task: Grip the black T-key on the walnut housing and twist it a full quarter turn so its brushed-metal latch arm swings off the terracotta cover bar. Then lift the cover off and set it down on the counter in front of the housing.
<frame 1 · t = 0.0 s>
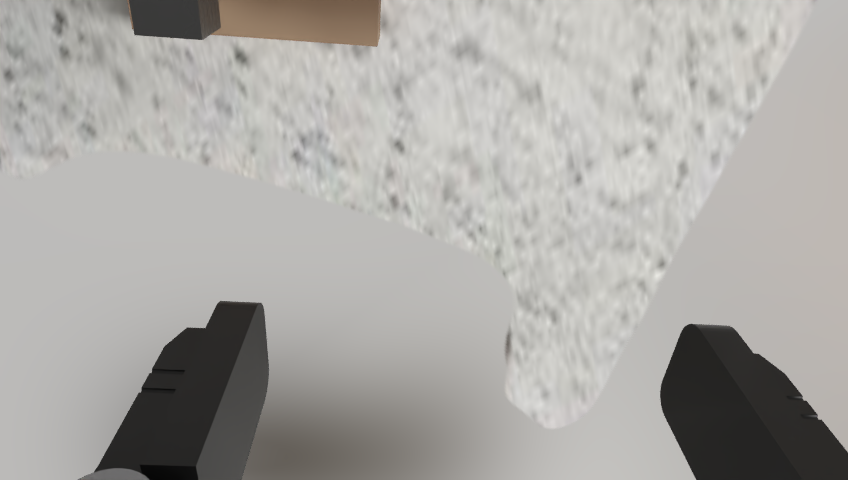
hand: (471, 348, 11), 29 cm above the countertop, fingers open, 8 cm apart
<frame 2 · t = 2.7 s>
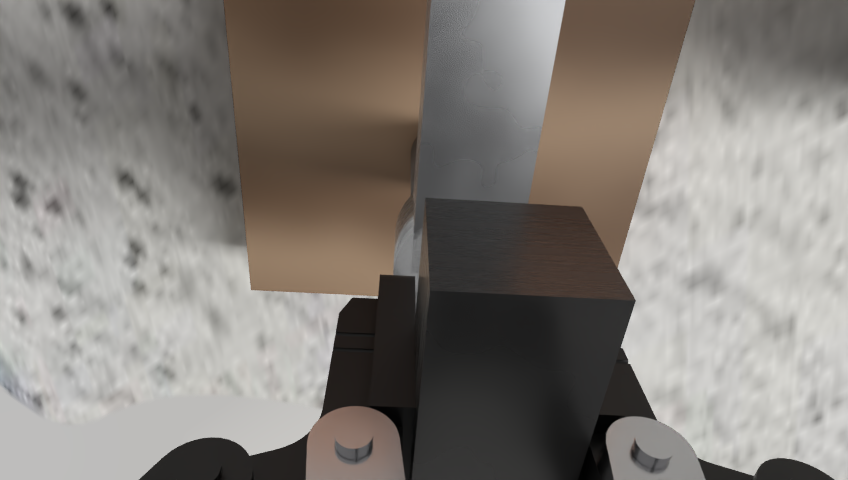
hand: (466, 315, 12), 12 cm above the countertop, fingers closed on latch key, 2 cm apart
latch key: (490, 179, 10), point 12 cm above the countertop, hinge at 0.0°, touching gripper
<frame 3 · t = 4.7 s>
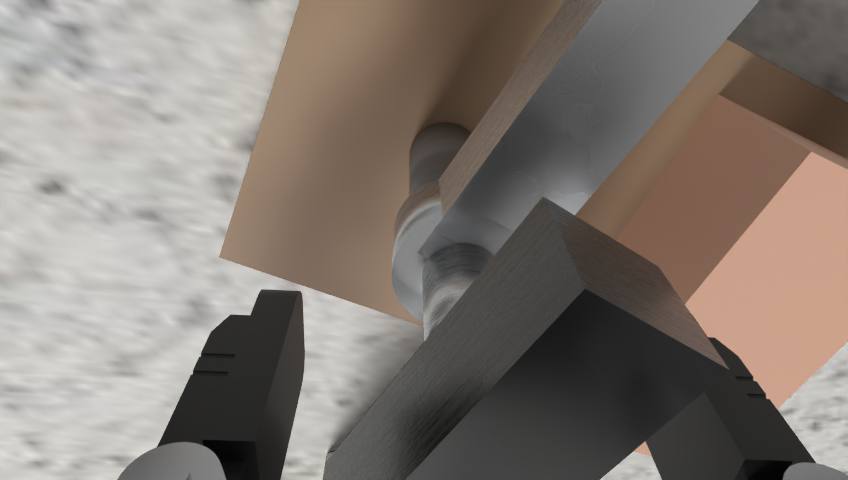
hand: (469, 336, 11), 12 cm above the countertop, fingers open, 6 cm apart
cover: (683, 254, 22), point 3 cm above the countertop, touching housing
latch key: (571, 204, 10), point 12 cm above the countertop, hinge at 81.5°
housing: (552, 174, 23), on the countertop
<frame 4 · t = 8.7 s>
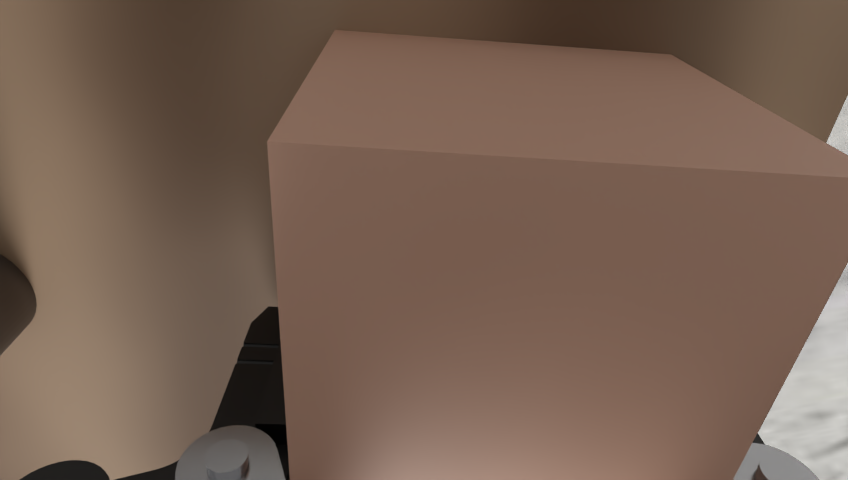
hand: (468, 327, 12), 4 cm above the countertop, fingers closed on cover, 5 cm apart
cover: (467, 313, 12), point 3 cm above the countertop, touching gripper, housing
housing: (259, 230, 14), on the countertop
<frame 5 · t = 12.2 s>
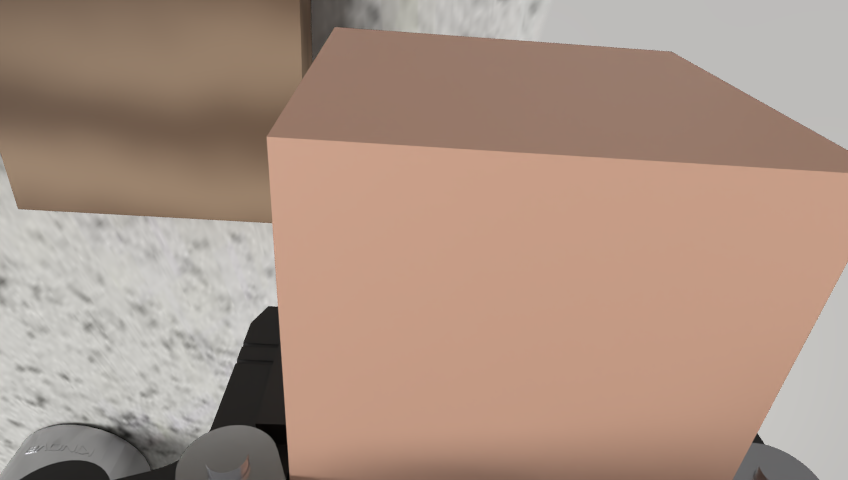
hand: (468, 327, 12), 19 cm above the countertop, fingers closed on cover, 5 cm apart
cover: (467, 311, 12), point 19 cm above the countertop, touching gripper
when the fingers open (2 cm above the countertop, at t = 15.8 s): cover drops 2 cm, on the countertop.
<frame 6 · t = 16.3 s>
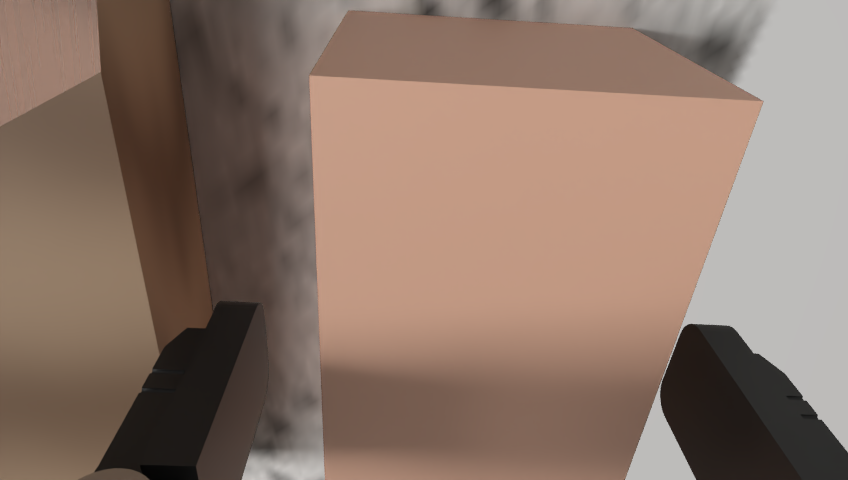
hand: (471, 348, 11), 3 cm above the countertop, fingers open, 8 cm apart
cover: (463, 256, 14), on the countertop
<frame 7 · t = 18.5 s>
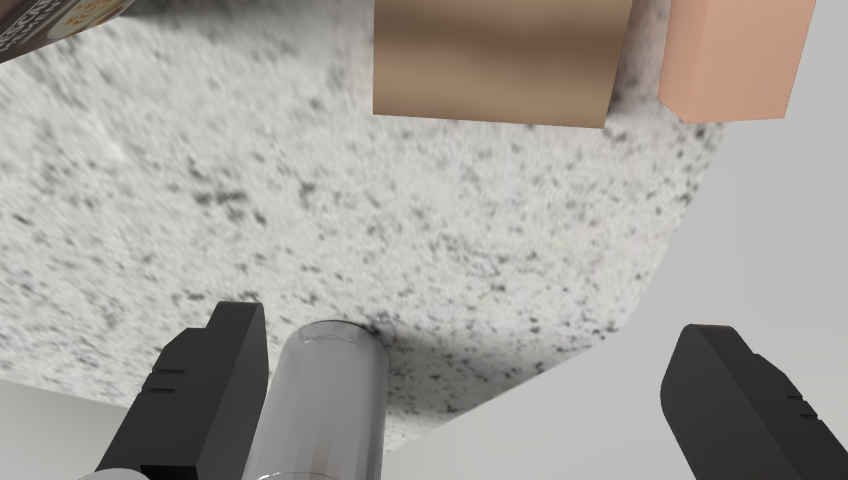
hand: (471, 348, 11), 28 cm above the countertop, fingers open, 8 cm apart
cover: (716, 4, 34), on the countertop
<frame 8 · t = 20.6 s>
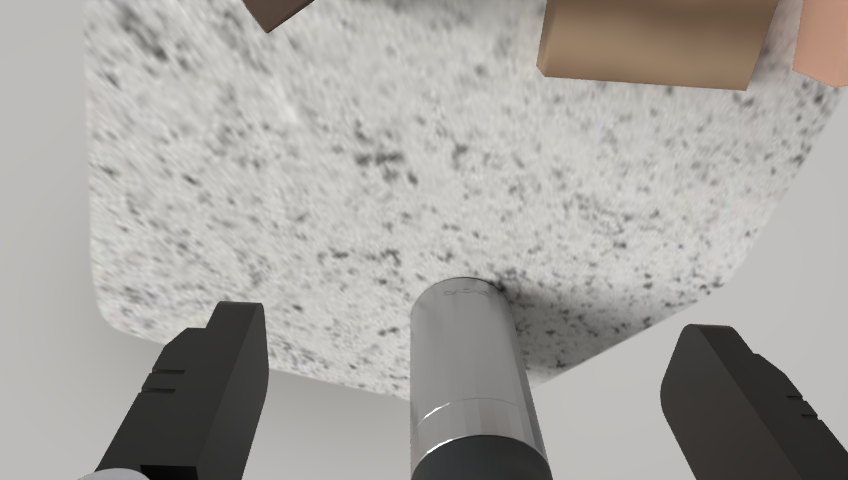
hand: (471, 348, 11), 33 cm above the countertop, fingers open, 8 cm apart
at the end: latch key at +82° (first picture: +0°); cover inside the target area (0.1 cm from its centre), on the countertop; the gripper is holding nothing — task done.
